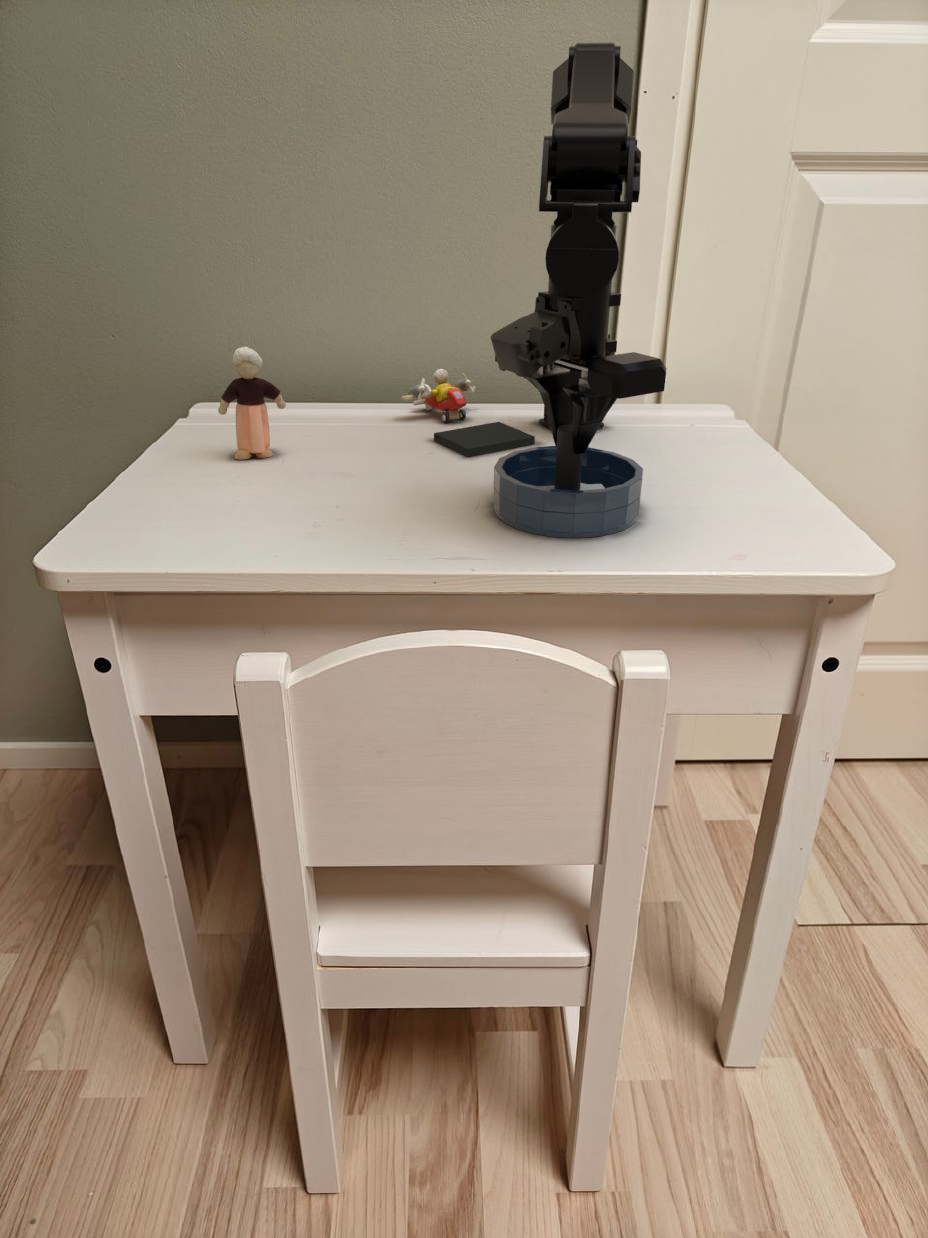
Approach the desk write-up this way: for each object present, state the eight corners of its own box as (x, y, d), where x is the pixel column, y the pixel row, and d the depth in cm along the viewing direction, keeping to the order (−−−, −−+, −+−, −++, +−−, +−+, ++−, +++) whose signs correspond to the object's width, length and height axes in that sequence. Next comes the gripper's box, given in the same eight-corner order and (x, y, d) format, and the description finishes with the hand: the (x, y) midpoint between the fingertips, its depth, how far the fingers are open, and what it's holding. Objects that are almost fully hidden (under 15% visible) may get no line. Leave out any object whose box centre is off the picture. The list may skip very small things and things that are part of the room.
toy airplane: (464, 425, 115) (464, 377, 112) (399, 421, 117) (397, 373, 114) (478, 408, 123) (479, 362, 120) (417, 404, 125) (416, 359, 122)
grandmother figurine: (230, 464, 100) (216, 352, 94) (222, 455, 103) (208, 346, 97) (294, 455, 104) (284, 346, 98) (284, 446, 107) (274, 340, 101)
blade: (580, 491, 91) (585, 416, 87) (610, 505, 88) (617, 427, 84) (521, 505, 88) (524, 428, 84) (550, 520, 84) (554, 440, 80)
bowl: (576, 477, 97) (578, 438, 95) (669, 518, 86) (674, 475, 84) (467, 501, 90) (467, 460, 88) (553, 549, 79) (555, 503, 77)
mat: (498, 428, 114) (498, 421, 113) (534, 443, 108) (535, 436, 107) (433, 440, 109) (433, 432, 109) (467, 457, 103) (467, 448, 103)
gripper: (449, 275, 81) (450, 439, 88) (576, 301, 67) (564, 492, 74) (544, 268, 86) (537, 423, 93) (680, 291, 72) (659, 470, 79)
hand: (569, 449), depth 85 cm, fingers closed on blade, 2 cm apart
